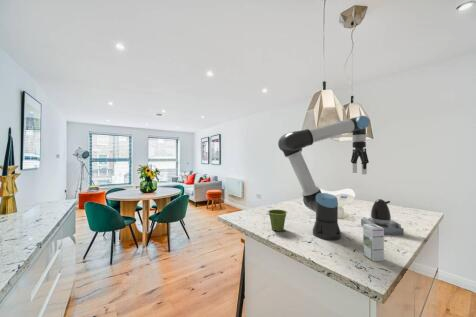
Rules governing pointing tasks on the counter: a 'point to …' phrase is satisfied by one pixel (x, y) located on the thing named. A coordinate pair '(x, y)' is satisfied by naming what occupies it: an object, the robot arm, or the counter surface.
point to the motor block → (386, 227)
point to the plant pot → (277, 219)
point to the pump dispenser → (380, 212)
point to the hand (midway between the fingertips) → (359, 173)
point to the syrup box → (373, 242)
